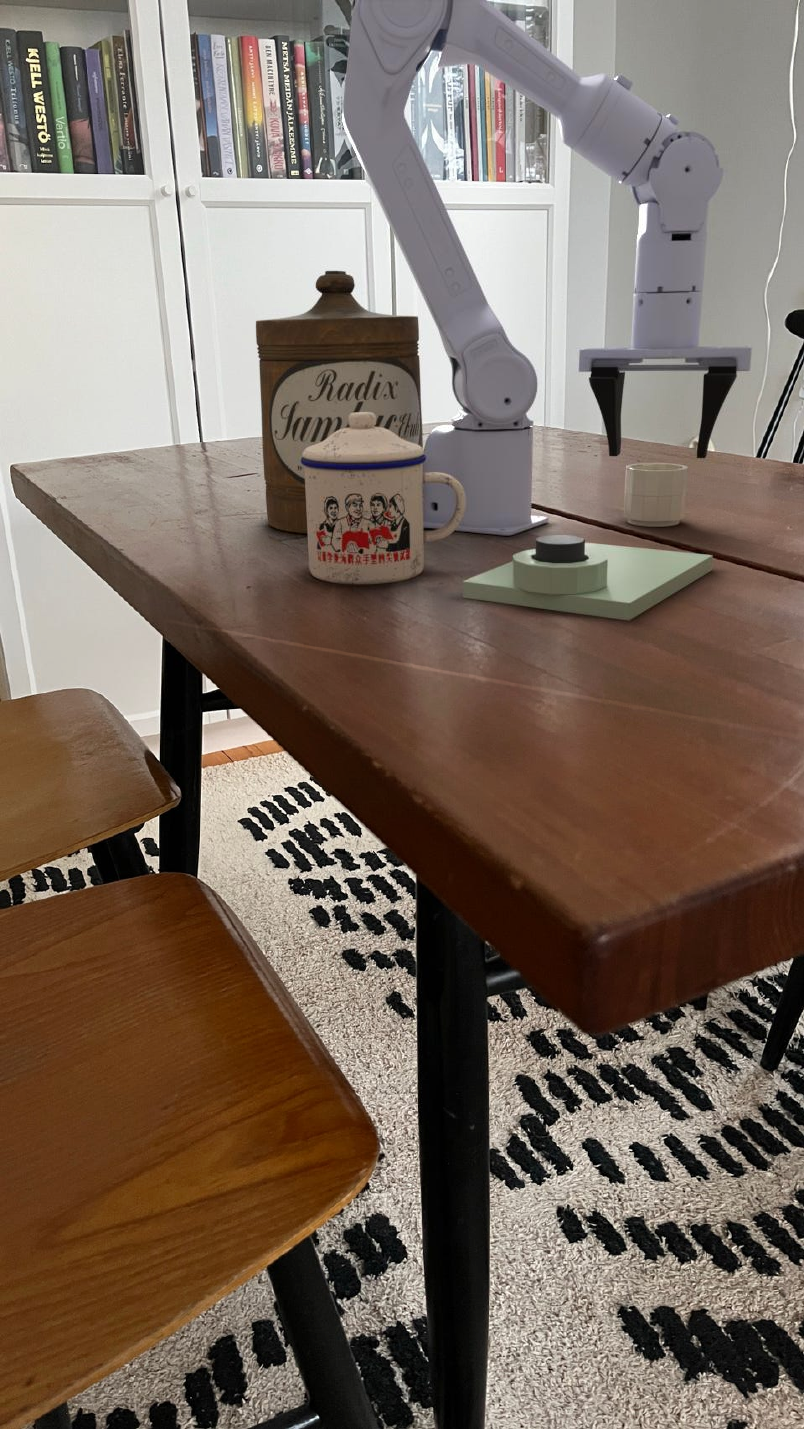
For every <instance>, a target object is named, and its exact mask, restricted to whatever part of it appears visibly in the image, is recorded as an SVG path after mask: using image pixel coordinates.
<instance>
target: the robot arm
mask: <svg viewBox="0 0 804 1429" xmlns="http://www.w3.org/2000/svg"><path fill="white" fill-rule="evenodd" d="M348 43H349V44H348V54H347V60H346V61H347V62H346V72H345V81H344V92H343V102H342V116H341V117H342V123H343V127H344V130H345V133H346V135H347V137H348V140H349V141H350V143H351V145H352V148H353V150H354V152H355V155H356V156H357V159H358V161H359V163H360V164H361V167H362V169H363V171H364V173H365V176H366V178H367V180H368V182H369V184H370V186H371V188H372V191H373V192H374V194H375V197H376V199H377V201H378V203H379V205H380V208H381V210H382V212H383V214H384V216H385V218H386V220H387V223H388V224H389V228H390V229H391V232H392V233H393V236H394V237H395V240H396V242H397V244H398V246H399V248H400V251H401V253H402V255H403V257H404V259H405V262H406V263H407V266H408V268H409V271H410V272H411V274H412V276H413V279H414V281H415V284H416V285H417V287H418V289H419V291H420V293H421V296H422V298H423V300H424V302H425V304H426V306H427V308H428V311H429V313H430V315H431V318H432V319H433V321H434V324H435V325H436V328H437V330H438V334H439V337H440V339H441V342H442V345H443V348H444V351H445V353H446V355H447V357H448V361H449V363H450V367H451V387H452V392H453V395H454V397H455V398H454V399H456V400H455V401H457V403H458V404H459V406H460V407H461V409H459V411H458V412H457V414H456V415H455V416H454V417H452V418H451V423H450V424H451V425H440V426H436V427H434V429H432V430H431V431H430V433H429V434H428V436H427V438H426V441H425V444H424V446H423V451H424V455H425V456H426V460H425V461H424V462H423V473H430V472H439V473H445V474H448V475H451V476H452V477H454V478H455V479H456V480H457V481H458V482H459V483H460V484H461V485H462V487H463V489H464V492H465V496H466V506H465V511H464V515H463V517H462V520H461V522H460V524H459V525H458V527H457V528H456V529H455V530H454V531H455V532H464V533H465V532H466V533H474V534H475V533H476V534H485V535H493V536H495V535H496V536H506V537H507V536H508V537H509V536H513V535H516V534H519V533H522V532H524V531H527V530H530V529H533V528H535V527H538V526H541V525H544V524H547V523H549V522H550V520H549V517H548V516H543V515H542V516H541V515H532V496H533V495H532V492H533V490H532V489H533V487H532V486H533V454H534V453H533V450H534V419H532V418H529V417H528V416H527V413H528V412H529V410H530V409H531V408H532V406H533V404H534V402H535V400H536V397H537V393H538V384H539V383H538V377H537V376H538V375H537V371H536V370H535V367H534V365H533V364H532V362H531V360H530V359H529V358H528V357H527V355H525V354H524V353H522V352H521V351H520V350H518V349H517V348H516V347H515V345H513V343H512V342H511V341H510V339H509V338H508V335H507V333H506V330H505V329H504V327H503V325H502V323H501V322H500V319H498V317H497V316H496V314H495V312H494V311H493V309H492V307H491V305H490V304H489V302H488V300H487V298H486V295H485V294H484V291H483V289H482V287H481V284H480V282H479V279H478V277H477V276H476V273H475V271H474V269H473V266H472V264H471V262H470V260H469V257H468V255H467V253H466V251H465V249H464V246H463V244H462V242H461V240H460V237H459V234H458V232H457V231H456V228H455V226H454V224H453V222H452V219H451V217H450V215H449V212H448V211H447V207H446V206H445V203H444V202H443V199H442V197H441V195H440V192H439V190H438V188H437V186H436V183H435V181H434V179H433V177H432V174H431V172H430V170H429V168H428V165H427V164H426V161H425V159H424V157H423V154H422V152H421V149H420V147H419V145H418V143H417V141H416V139H415V136H414V134H413V132H412V129H411V127H410V125H409V123H408V121H407V118H406V116H405V109H406V105H407V103H408V99H409V97H410V93H411V91H412V87H413V84H414V80H415V78H416V76H417V75H418V74H419V73H420V72H421V70H422V68H423V67H424V65H425V64H426V62H427V61H428V60H429V58H430V56H431V55H432V53H433V52H438V55H437V60H436V64H435V67H436V68H439V69H440V68H448V67H457V66H458V67H459V66H466V65H474V66H476V67H478V68H479V69H481V70H482V71H484V72H486V73H487V74H489V75H490V76H492V77H493V78H495V79H497V80H499V81H500V82H501V83H503V84H504V85H506V86H508V87H509V88H511V89H513V90H514V91H515V92H517V93H518V94H520V95H522V96H523V97H525V98H526V99H528V100H530V101H531V102H532V103H534V104H535V105H537V106H539V107H540V108H542V109H543V110H545V111H547V112H548V113H550V114H551V115H553V116H554V117H555V118H556V119H557V122H558V127H559V131H560V135H561V136H560V137H561V140H562V144H564V145H566V146H567V147H569V149H571V150H573V151H574V152H576V154H577V155H580V156H581V157H583V158H584V159H585V160H586V161H588V162H589V163H591V164H592V165H594V166H595V167H596V168H597V169H599V170H601V171H602V172H603V173H605V174H606V175H608V176H609V177H610V178H612V179H613V180H615V181H616V182H617V183H619V184H620V185H622V186H623V187H627V186H629V189H630V193H631V197H632V199H633V202H634V203H635V205H636V207H638V208H639V215H638V216H639V217H638V232H637V237H636V249H635V250H636V251H635V267H634V268H635V269H634V270H635V271H634V286H633V288H634V289H633V305H632V323H631V324H632V325H631V326H632V327H631V341H630V347H600V348H599V347H598V348H595V347H593V348H592V347H591V348H580V349H579V351H578V354H579V355H578V372H579V373H590V377H589V378H588V382H589V386H590V388H591V390H592V393H593V395H594V398H595V401H596V402H597V405H598V408H599V411H600V414H601V417H602V420H603V424H604V429H605V433H606V440H607V447H608V456H609V457H618V456H619V455H620V454H621V449H622V448H621V447H622V409H623V408H622V406H623V397H624V396H623V395H624V386H625V380H626V379H625V378H626V372H701V371H702V372H706V371H707V373H703V379H702V380H703V381H702V402H701V403H702V404H701V419H700V427H699V433H698V438H697V439H698V440H697V446H696V459H706V458H707V456H708V449H709V444H710V440H711V436H712V433H713V430H714V427H715V425H716V422H717V419H718V416H719V414H720V412H721V409H722V407H723V405H724V403H725V401H726V399H727V396H728V395H729V393H730V391H731V388H732V387H733V385H734V383H735V381H736V380H737V377H738V374H737V373H738V372H749V371H751V365H752V357H753V356H752V355H753V346H699V344H700V332H701V319H702V304H703V292H704V279H705V278H704V277H705V264H706V252H707V239H708V234H707V227H708V216H709V202H710V201H711V199H712V198H713V197H714V195H716V192H718V189H719V187H720V185H721V182H722V179H723V176H724V168H723V167H721V166H720V161H719V155H718V154H716V153H715V150H716V149H715V146H714V144H712V142H711V141H710V139H708V138H707V137H706V136H705V135H703V134H701V133H699V132H696V131H685V130H683V131H679V132H678V125H679V123H680V119H679V118H678V117H677V116H675V115H674V114H673V113H668V114H667V115H666V116H665V115H664V114H662V113H661V112H659V111H658V110H657V109H656V108H654V107H653V106H651V105H650V104H649V103H647V102H645V101H644V100H643V99H642V98H640V97H639V96H637V95H636V94H635V93H633V92H632V91H630V90H631V88H632V86H633V84H634V83H633V81H632V80H631V79H629V78H628V77H627V76H626V75H624V74H622V73H620V74H619V75H617V76H616V77H615V78H613V77H612V76H610V75H609V74H608V73H606V72H601V73H598V74H597V73H596V74H594V75H591V76H584V77H583V76H581V75H579V74H578V73H577V72H575V71H574V70H573V69H572V68H570V66H568V65H567V64H566V63H564V62H563V61H562V60H561V59H559V57H557V55H555V54H553V52H551V51H550V50H549V49H547V48H546V47H545V46H543V45H542V44H541V42H539V41H538V40H536V39H535V38H534V37H532V36H531V35H530V34H529V33H528V32H526V31H525V30H524V29H522V28H521V27H520V26H519V25H518V24H516V22H514V21H513V20H512V19H510V18H509V17H508V16H507V15H505V14H504V13H503V12H502V11H501V10H499V9H498V8H497V7H496V6H494V5H493V4H492V3H490V2H489V1H488V0H356V1H355V4H354V6H353V8H352V14H351V22H350V35H349V42H348ZM679 359H680V360H681V359H683V360H684V363H685V364H641V363H643V362H644V360H679ZM456 502H457V498H456V493H455V491H454V490H453V489H452V488H451V487H450V486H448V485H447V484H444V483H423V528H424V529H434V530H437V529H440V528H442V527H443V526H445V525H446V524H447V523H448V522H449V521H450V519H451V518H452V516H453V514H454V511H455V508H456ZM454 531H453V532H454Z"/></svg>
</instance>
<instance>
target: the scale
mask: <svg viewBox="0 0 804 1429" xmlns="http://www.w3.org/2000/svg"><path fill="white" fill-rule="evenodd" d="M535 557H536V548H533V549H525V550H522V551H519V552H517V553H514V554H513V555H512V561H509V562H507V563H505V564H502V565H500V566H497V567H494V568H492V569H490V570H487V571H485V572H482V573H480V574H476V575H474V576H472V577H469V578H466V579H464V580H462V581H461V582H462V589H461V590H462V594H461V598H463V599H470V600H477V601H485V602H493V603H499V604H507V605H514V606H521V607H528V608H529V607H530V608H536V609H544V610H551V611H557V612H565V613H572V614H578V615H579V614H580V615H586V616H593V617H601V618H609V619H614V620H615V619H616V620H620V621H621V620H623V621H631V620H632V619H634V618H636V617H637V616H639V615H641V614H642V613H644V612H646V611H647V610H649V609H651V608H652V607H654V606H655V605H657V604H659V603H660V602H662V601H663V600H665V599H667V598H668V597H670V596H672V595H673V594H675V593H676V592H679V591H681V590H682V589H684V588H685V587H687V586H688V585H690V584H691V583H693V582H695V581H697V580H698V579H700V578H701V577H703V576H705V575H707V574H708V573H711V571H712V570H713V558H714V556H713V554H712V555H711V554H704V553H696V552H695V553H693V552H685V551H674V550H666V549H665V550H664V549H656V548H655V549H654V548H645V547H635V546H634V547H633V546H624V545H615V544H604V543H594V542H586V541H585V556H584V561H582V562H575V563H548V562H540V561H537V560H535Z"/></svg>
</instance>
